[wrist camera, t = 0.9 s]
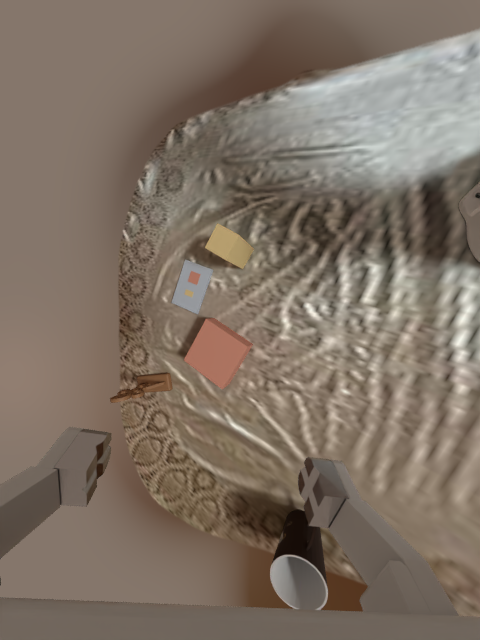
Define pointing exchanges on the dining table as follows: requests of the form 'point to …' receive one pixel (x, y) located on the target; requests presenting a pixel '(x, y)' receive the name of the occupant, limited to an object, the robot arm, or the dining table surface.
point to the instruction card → (192, 286)
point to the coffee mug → (300, 565)
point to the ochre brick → (229, 246)
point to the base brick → (217, 352)
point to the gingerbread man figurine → (145, 386)
